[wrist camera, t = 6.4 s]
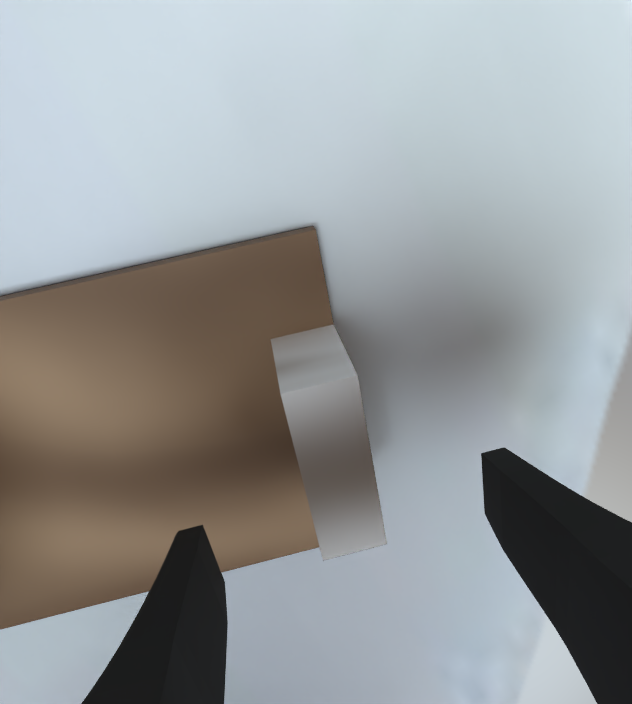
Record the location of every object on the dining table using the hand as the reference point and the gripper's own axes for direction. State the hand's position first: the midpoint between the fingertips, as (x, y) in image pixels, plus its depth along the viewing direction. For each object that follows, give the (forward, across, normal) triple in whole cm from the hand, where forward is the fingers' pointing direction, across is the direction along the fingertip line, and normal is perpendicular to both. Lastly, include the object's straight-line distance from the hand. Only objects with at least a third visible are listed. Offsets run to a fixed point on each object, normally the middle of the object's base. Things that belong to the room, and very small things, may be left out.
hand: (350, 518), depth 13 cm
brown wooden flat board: (+6, +10, 0) cm, 11 cm away
